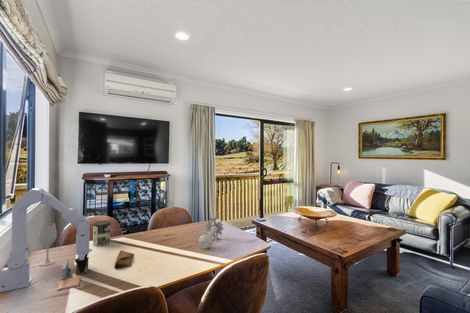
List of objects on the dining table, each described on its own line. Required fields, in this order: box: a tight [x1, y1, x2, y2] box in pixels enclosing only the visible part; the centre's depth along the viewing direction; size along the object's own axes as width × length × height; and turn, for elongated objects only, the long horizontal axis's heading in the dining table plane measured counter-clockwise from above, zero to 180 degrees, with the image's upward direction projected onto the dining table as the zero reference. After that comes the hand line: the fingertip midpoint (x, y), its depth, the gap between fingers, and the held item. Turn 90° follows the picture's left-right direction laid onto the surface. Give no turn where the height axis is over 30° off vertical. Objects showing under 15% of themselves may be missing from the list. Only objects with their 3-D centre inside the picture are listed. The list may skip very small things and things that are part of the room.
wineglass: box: [38, 222, 58, 267], centre depth 123 cm, size 8×8×21 cm
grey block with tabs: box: [59, 258, 71, 281], centre depth 111 cm, size 3×12×6 cm, turn 32°
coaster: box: [56, 275, 81, 291], centre depth 103 cm, size 8×8×1 cm
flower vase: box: [198, 216, 224, 250], centre depth 154 cm, size 13×18×25 cm
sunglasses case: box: [114, 249, 135, 270], centre depth 127 cm, size 18×7×7 cm, turn 21°
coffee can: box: [92, 220, 112, 247], centre depth 152 cm, size 10×10×14 cm
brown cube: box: [75, 260, 89, 276], centre depth 114 cm, size 5×5×5 cm
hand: (82, 268), depth 114 cm, fingers open, 7 cm apart
